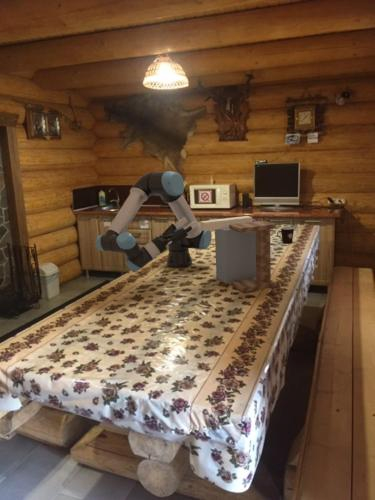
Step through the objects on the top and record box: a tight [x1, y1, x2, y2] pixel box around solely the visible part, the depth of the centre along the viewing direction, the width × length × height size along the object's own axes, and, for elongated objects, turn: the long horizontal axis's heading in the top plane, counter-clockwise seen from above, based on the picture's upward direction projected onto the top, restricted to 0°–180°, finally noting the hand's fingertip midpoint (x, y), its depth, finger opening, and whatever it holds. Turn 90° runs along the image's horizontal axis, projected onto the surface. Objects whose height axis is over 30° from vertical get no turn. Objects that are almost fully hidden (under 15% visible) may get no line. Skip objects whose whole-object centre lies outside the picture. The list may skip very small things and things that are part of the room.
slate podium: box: [214, 228, 256, 285], centre depth 212 cm, size 17×12×27 cm
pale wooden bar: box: [199, 215, 253, 231], centre depth 207 cm, size 26×5×4 cm, turn 110°
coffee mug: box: [276, 226, 295, 245], centre depth 286 cm, size 12×9×10 cm
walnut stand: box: [229, 220, 277, 293], centre depth 199 cm, size 18×12×30 cm, turn 110°
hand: (191, 220), depth 200 cm, fingers open, 13 cm apart
